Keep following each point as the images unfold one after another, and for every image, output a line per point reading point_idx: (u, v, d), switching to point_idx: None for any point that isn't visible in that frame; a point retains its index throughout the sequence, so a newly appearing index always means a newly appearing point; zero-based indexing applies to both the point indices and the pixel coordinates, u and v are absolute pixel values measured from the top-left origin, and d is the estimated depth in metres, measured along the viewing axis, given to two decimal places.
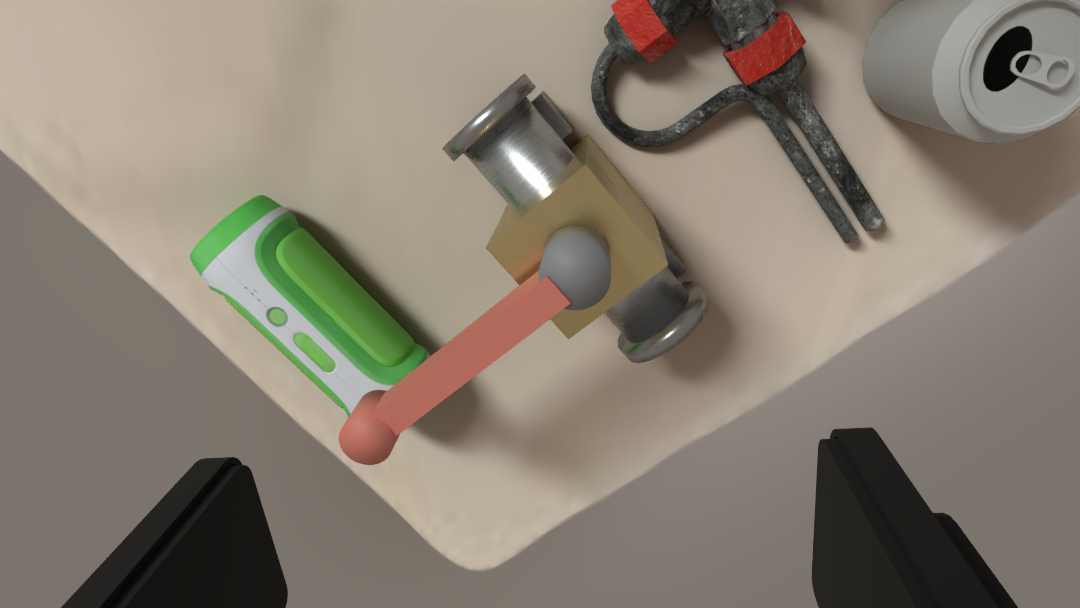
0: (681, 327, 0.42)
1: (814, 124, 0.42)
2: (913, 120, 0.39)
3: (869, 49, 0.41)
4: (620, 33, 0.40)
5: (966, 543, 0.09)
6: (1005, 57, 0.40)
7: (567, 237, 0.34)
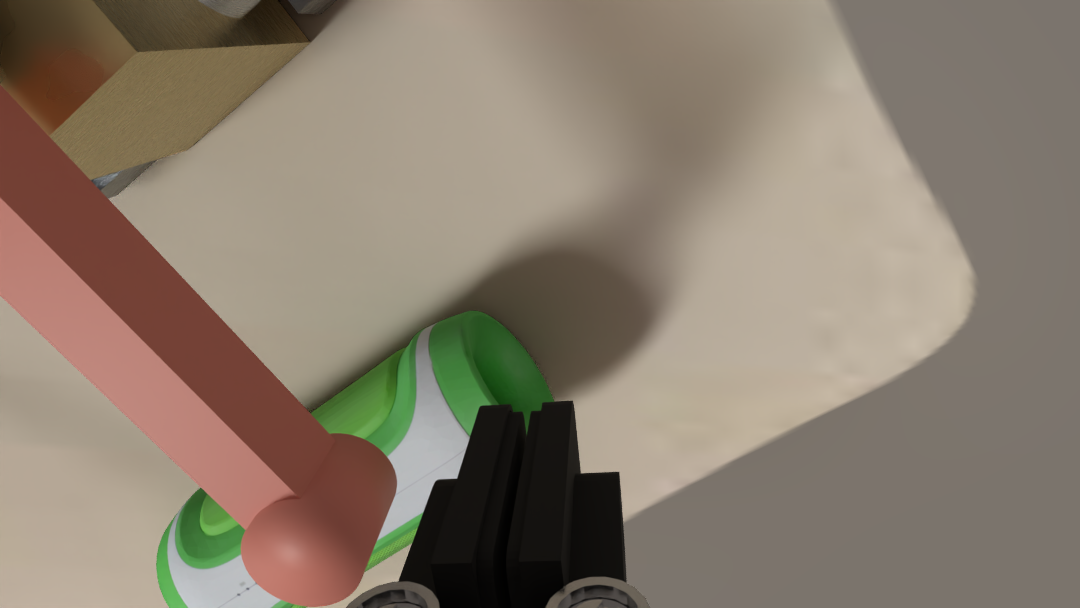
0: None
1: None
2: None
3: None
4: None
5: (619, 494, 0.10)
6: None
7: None
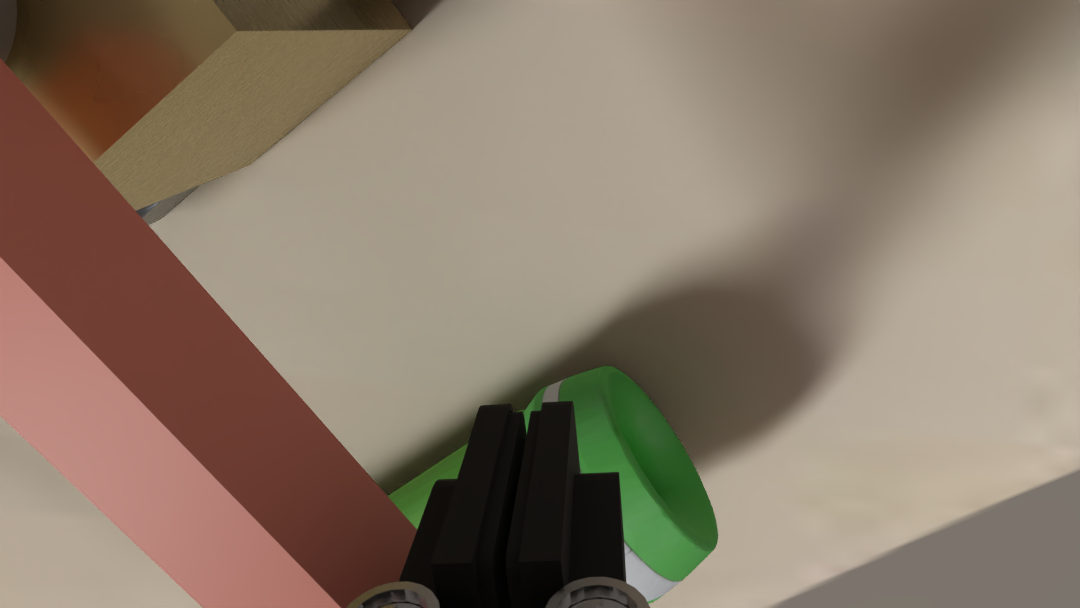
0: None
1: None
2: None
3: None
4: None
5: (619, 494, 0.10)
6: None
7: None
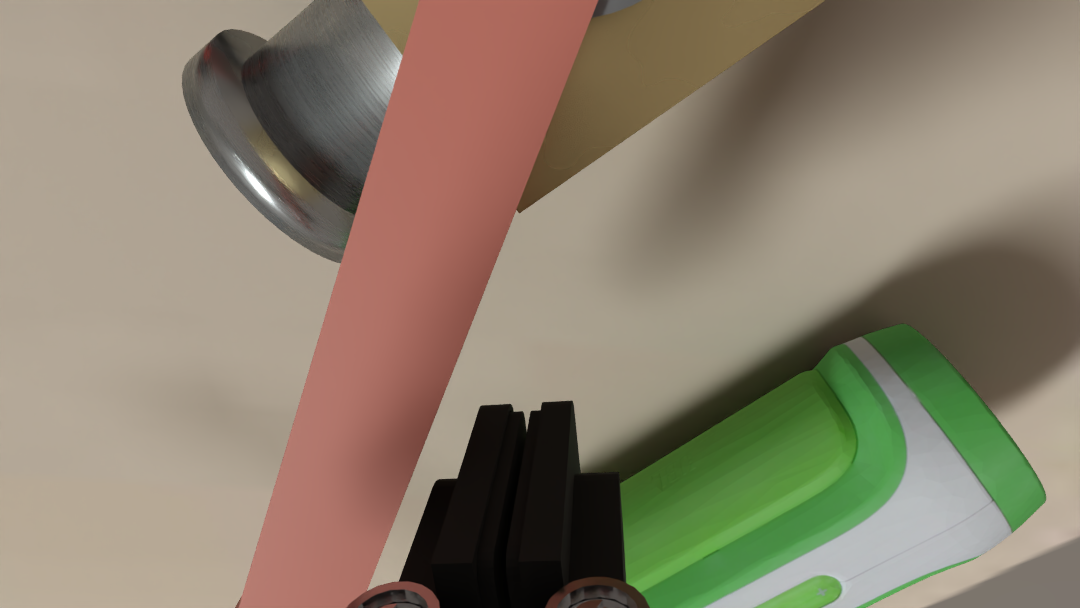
0: None
1: None
2: None
3: None
4: None
5: (619, 495, 0.10)
6: None
7: None
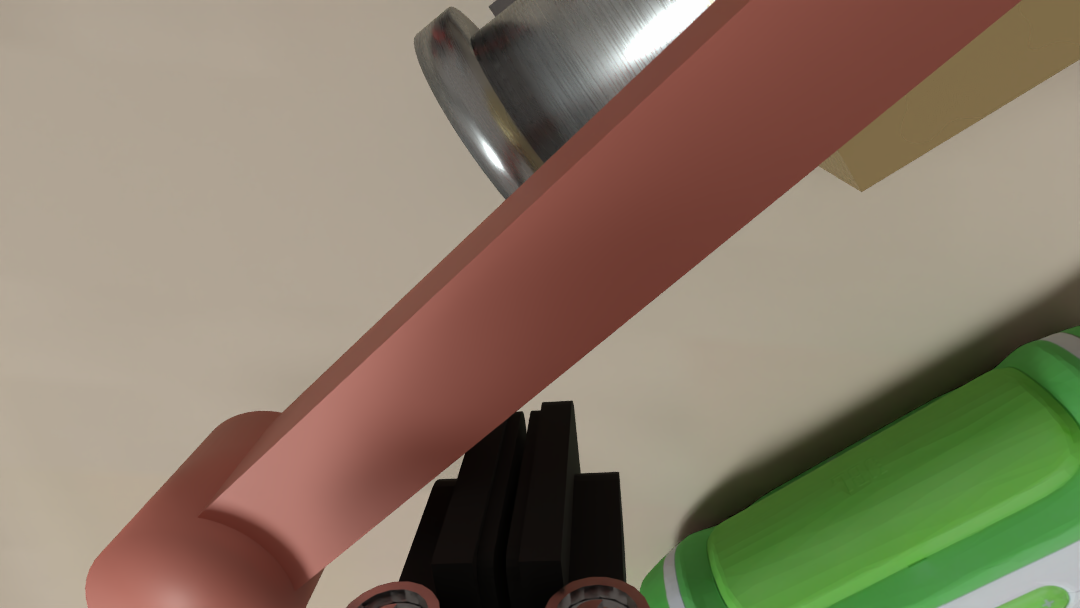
0: None
1: None
2: None
3: None
4: None
5: (619, 495, 0.10)
6: None
7: None
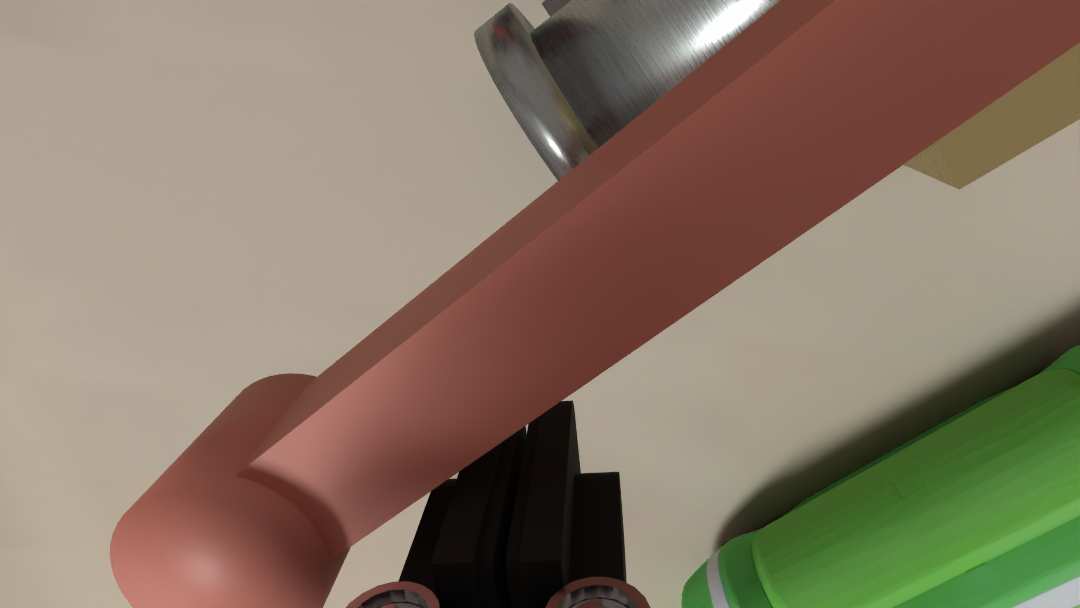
0: None
1: None
2: None
3: None
4: None
5: (619, 495, 0.10)
6: None
7: None
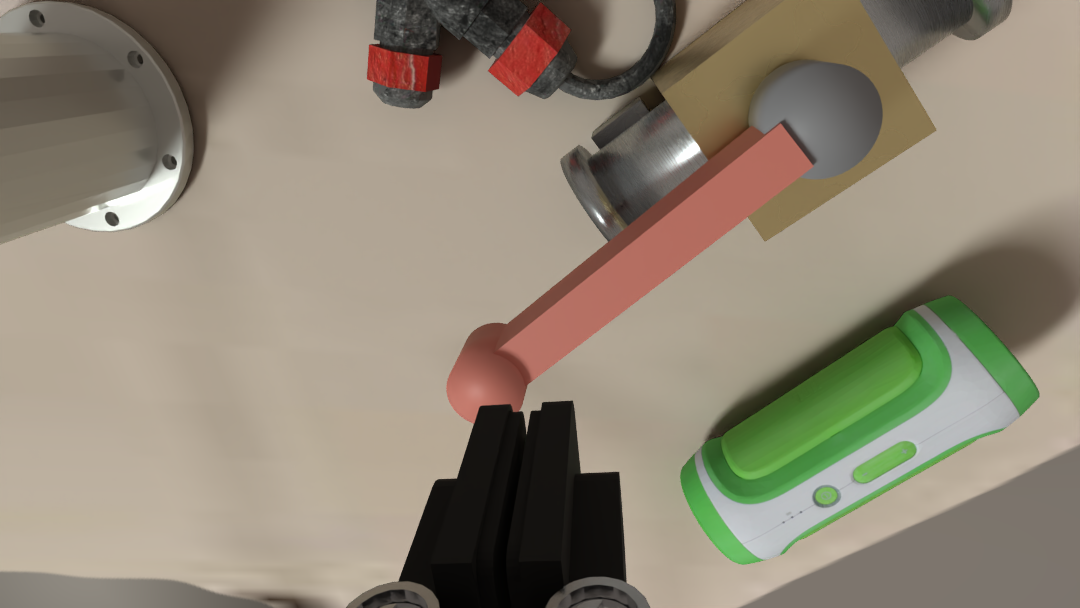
0: None
1: None
2: None
3: None
4: (542, 80, 0.33)
5: (619, 495, 0.10)
6: None
7: (810, 63, 0.22)
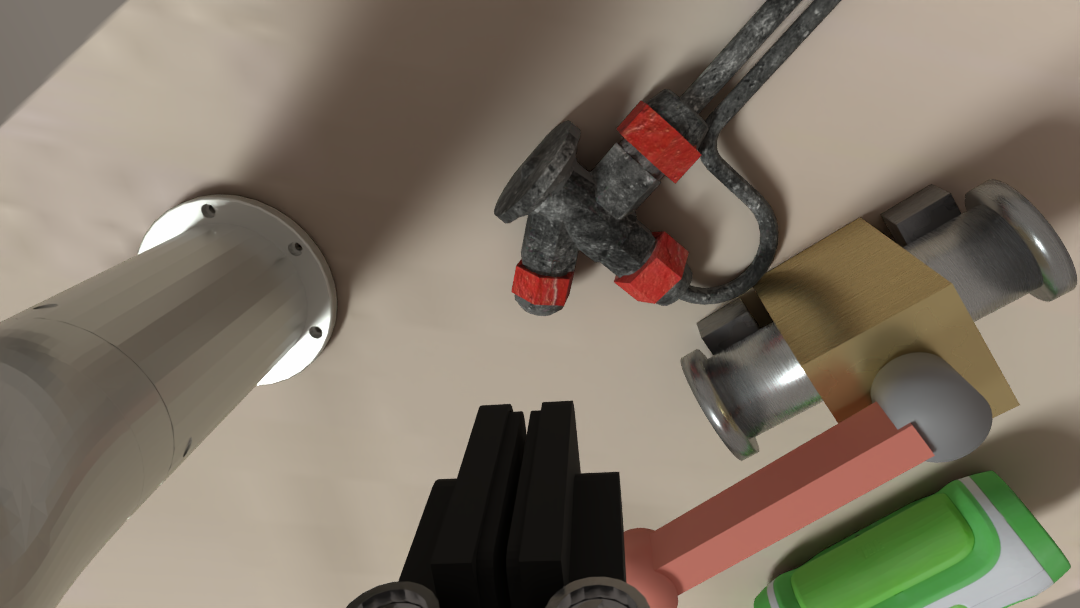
0: (1040, 239, 0.31)
1: (736, 55, 0.34)
2: None
3: None
4: (664, 296, 0.39)
5: (620, 495, 0.10)
6: None
7: (935, 376, 0.28)
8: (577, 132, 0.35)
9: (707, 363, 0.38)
